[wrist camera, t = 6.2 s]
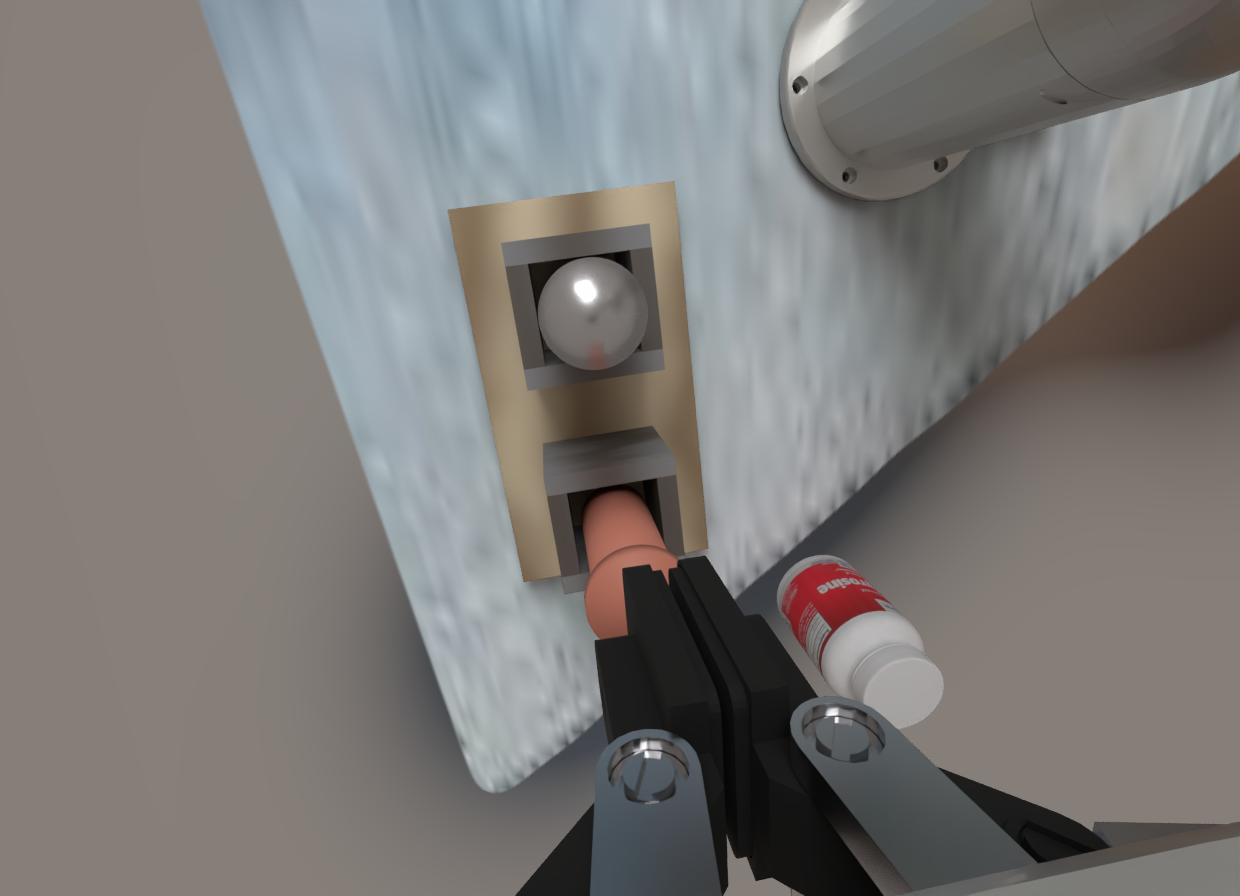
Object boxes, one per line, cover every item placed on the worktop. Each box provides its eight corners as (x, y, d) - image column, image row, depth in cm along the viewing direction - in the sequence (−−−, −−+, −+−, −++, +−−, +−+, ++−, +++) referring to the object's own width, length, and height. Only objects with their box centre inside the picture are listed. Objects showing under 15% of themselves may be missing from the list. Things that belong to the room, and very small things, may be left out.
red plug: (650, 470, 31) (690, 544, 23) (658, 544, 32) (700, 640, 24) (567, 484, 31) (578, 564, 22) (580, 558, 32) (594, 661, 24)
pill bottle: (866, 559, 42) (975, 655, 32) (838, 632, 44) (932, 746, 33) (788, 545, 41) (874, 639, 31) (762, 620, 43) (835, 735, 32)
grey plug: (614, 255, 31) (641, 249, 23) (624, 337, 33) (653, 361, 24) (531, 266, 31) (529, 265, 22) (545, 349, 32) (547, 377, 24)
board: (666, 186, 33) (704, 161, 26) (700, 535, 40) (737, 597, 32) (453, 213, 32) (426, 196, 24) (524, 566, 39) (520, 639, 31)
